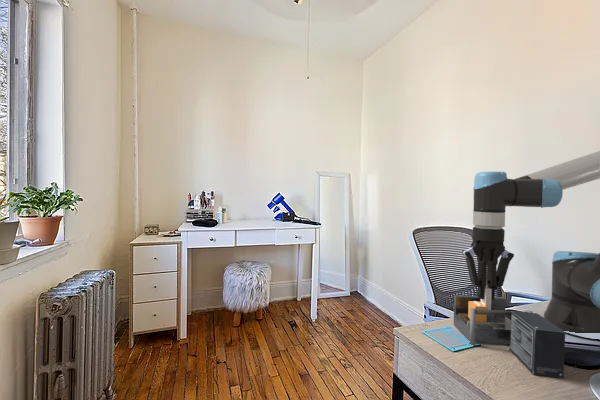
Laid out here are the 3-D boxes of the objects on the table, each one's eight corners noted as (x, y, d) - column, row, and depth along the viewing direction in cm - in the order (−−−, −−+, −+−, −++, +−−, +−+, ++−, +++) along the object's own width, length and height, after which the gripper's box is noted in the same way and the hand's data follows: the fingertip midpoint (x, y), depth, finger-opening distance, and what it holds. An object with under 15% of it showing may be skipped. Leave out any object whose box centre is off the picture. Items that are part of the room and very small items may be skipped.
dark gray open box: (502, 327, 87) (503, 297, 86) (525, 345, 76) (526, 311, 76) (452, 324, 88) (453, 295, 88) (469, 342, 78) (469, 309, 77)
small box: (566, 379, 63) (568, 332, 62) (532, 375, 64) (533, 329, 64) (537, 352, 73) (538, 312, 73) (508, 349, 74) (509, 309, 74)
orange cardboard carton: (479, 317, 83) (479, 300, 83) (486, 324, 79) (486, 306, 79) (468, 317, 83) (468, 300, 83) (475, 323, 80) (475, 305, 79)
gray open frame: (529, 347, 76) (530, 310, 75) (532, 349, 74) (533, 312, 74) (468, 343, 77) (469, 308, 77) (470, 346, 76) (471, 309, 76)
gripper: (505, 226, 83) (502, 306, 84) (457, 224, 85) (455, 303, 86) (522, 229, 76) (518, 317, 77) (470, 228, 77) (467, 314, 78)
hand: (485, 310), depth 81 cm, fingers closed
